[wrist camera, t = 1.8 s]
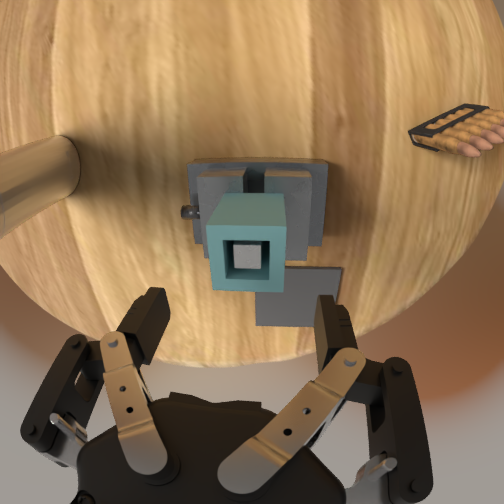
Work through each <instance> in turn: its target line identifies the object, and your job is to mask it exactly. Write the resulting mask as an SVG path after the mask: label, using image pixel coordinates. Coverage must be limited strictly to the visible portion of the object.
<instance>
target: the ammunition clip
mask: <svg viewBox="0 0 504 504" xmlns="http://www.w3.org/2000/svg"><path fill="white" fill-rule="evenodd" d="M408 133H409V135H410V138H411V140H412V143H413V145H415V146H419V147H423V148H426V149H430V150H433V151H436V152H438V151H439V150H443V151H446V152H449V153H452V154H460V155H464V156H467V157H480V156H481V153H480V152H479V150H478V149H480V150H491V149H493V146H492V144H491V143H494V144H499V143H503V142H504V139H503V138H504V112H503V111H499V110H493V109H490V108H489V107H488V106H481V105H474V104H463V105H461V106H458V107H456V108H454V109H452V110H450V111H448V112H446V113H443V114H441V115H439V116H437V117H435V118H433V119H431V120H429V121H427V122H425V123H423V124H421V125H419V126H417V127H415V128H413V129H411V130H409V131H408Z"/></svg>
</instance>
